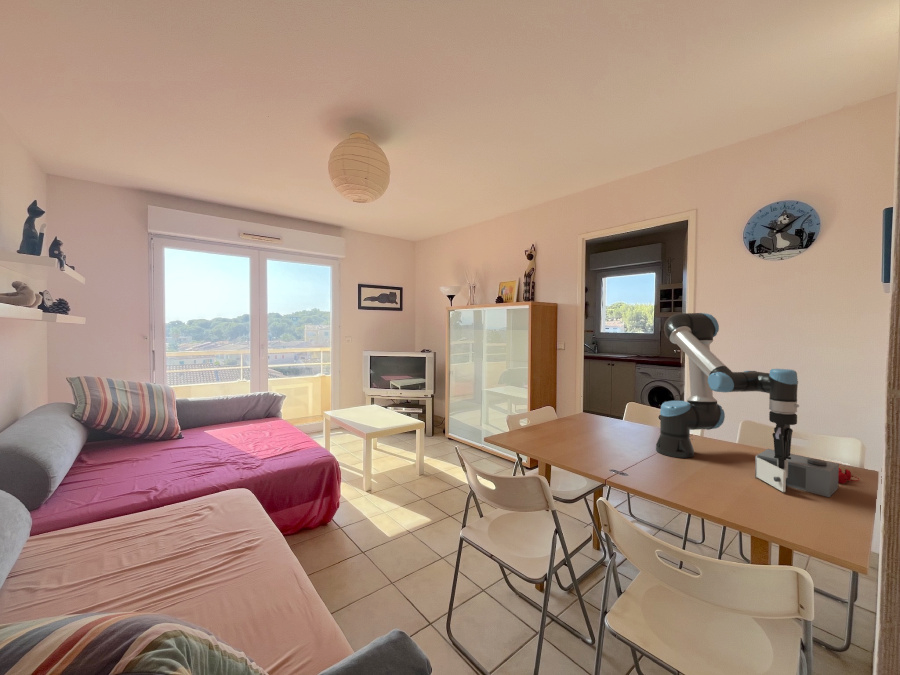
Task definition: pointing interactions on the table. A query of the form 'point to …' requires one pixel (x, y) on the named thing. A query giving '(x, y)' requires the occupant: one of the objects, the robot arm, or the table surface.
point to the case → (808, 473)
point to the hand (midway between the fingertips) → (782, 476)
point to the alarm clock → (845, 476)
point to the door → (770, 474)
